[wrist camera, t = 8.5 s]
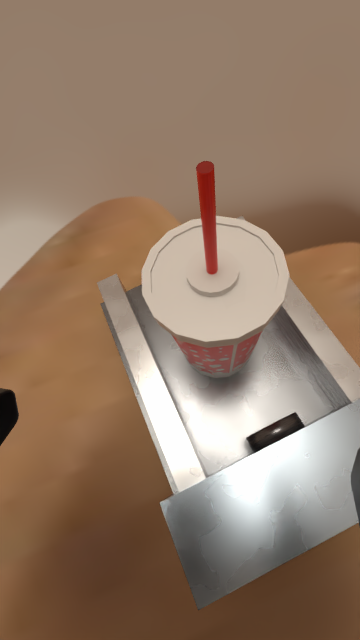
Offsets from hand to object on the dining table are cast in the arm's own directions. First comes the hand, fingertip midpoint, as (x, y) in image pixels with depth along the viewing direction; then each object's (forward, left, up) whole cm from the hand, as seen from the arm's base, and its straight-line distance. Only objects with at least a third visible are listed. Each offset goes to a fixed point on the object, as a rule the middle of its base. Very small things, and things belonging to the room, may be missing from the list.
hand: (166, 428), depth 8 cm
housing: (+3, -4, -13) cm, 14 cm away
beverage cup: (+5, -4, -12) cm, 13 cm away
